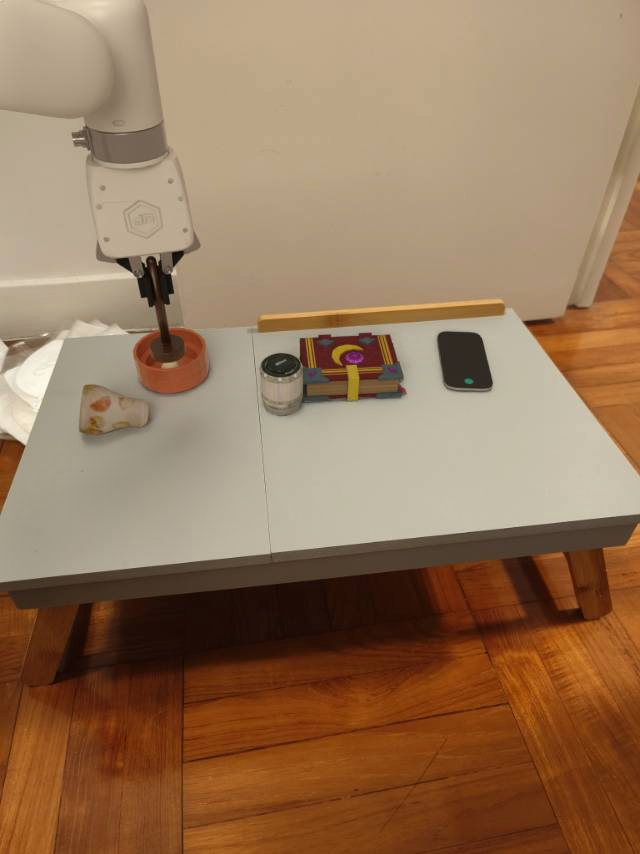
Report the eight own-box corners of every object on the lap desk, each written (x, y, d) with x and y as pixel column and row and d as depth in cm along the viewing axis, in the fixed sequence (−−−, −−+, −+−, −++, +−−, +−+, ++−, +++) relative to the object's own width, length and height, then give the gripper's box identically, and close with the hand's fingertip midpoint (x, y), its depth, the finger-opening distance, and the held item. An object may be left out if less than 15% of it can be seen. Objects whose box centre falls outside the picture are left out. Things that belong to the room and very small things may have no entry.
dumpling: (162, 370, 94) (155, 364, 96) (171, 383, 95) (164, 377, 97) (176, 359, 94) (169, 353, 96) (185, 372, 96) (178, 366, 98)
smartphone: (445, 386, 95) (436, 330, 106) (444, 390, 96) (435, 334, 106) (495, 388, 95) (481, 331, 106) (493, 392, 95) (480, 336, 106)
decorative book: (298, 358, 101) (298, 333, 98) (395, 354, 102) (398, 329, 99) (303, 404, 93) (303, 378, 90) (408, 398, 94) (412, 373, 91)
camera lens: (311, 403, 93) (311, 362, 88) (280, 423, 90) (278, 381, 85) (284, 384, 96) (283, 343, 91) (253, 402, 93) (249, 361, 88)
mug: (158, 437, 88) (110, 405, 80) (104, 457, 91) (52, 427, 83) (160, 395, 92) (114, 359, 84) (108, 414, 95) (59, 382, 87)
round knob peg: (155, 366, 77) (134, 268, 68) (148, 347, 80) (127, 251, 71) (189, 358, 78) (173, 261, 69) (181, 340, 81) (165, 245, 72)
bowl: (142, 401, 93) (135, 375, 90) (137, 358, 101) (130, 333, 97) (214, 389, 95) (210, 363, 92) (204, 348, 103) (200, 323, 100)
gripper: (45, 161, 57) (92, 327, 70) (211, 146, 60) (227, 307, 73) (47, 134, 62) (90, 293, 75) (200, 122, 66) (217, 276, 78)
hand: (158, 299), depth 74 cm, fingers closed on round knob peg, 1 cm apart
